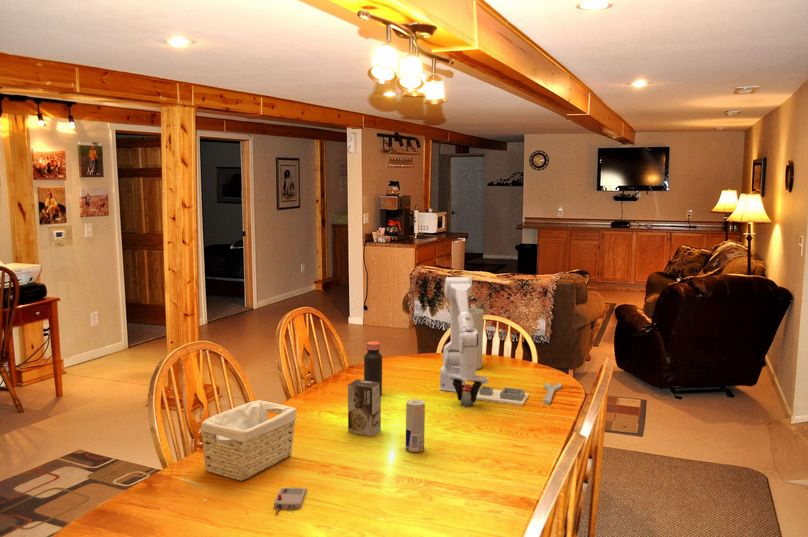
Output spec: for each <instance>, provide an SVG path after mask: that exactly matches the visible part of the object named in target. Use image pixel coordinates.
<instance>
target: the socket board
mask: <svg viewBox="0 0 808 537" xmlns="http://www.w3.org/2000/svg"><path fill="white" fill-rule="evenodd" d="M525 391H526V390H525V389H522V388H521V389H520V388H514V387H513V388H512V387H503V389H502V390H501V389H494V387H492V386H485V385H484V386H483V385H481V387H480V389H479V391H478V394H477V398H476V401H480V400H483V401H482V402H488V401H491V403H496V402H497V404H504V403H506V404H505V405H512V404H514V405H513V406H521V405H522V407H523V406H524V405H523V404H525V403H526V402H527V400H526V399H528V397H529V396H530V393H527V392H526V393H525Z"/></svg>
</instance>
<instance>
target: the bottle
mask: <svg viewBox="0 0 808 537" xmlns="http://www.w3.org/2000/svg"><path fill="white" fill-rule="evenodd" d="M380 350H381V342H379V341H368V342H366V351H367V352H366V353H365V355H363V380H366V381H373V382H380V383H381V396H382V395H383V355H382V354H381V353H380Z"/></svg>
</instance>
